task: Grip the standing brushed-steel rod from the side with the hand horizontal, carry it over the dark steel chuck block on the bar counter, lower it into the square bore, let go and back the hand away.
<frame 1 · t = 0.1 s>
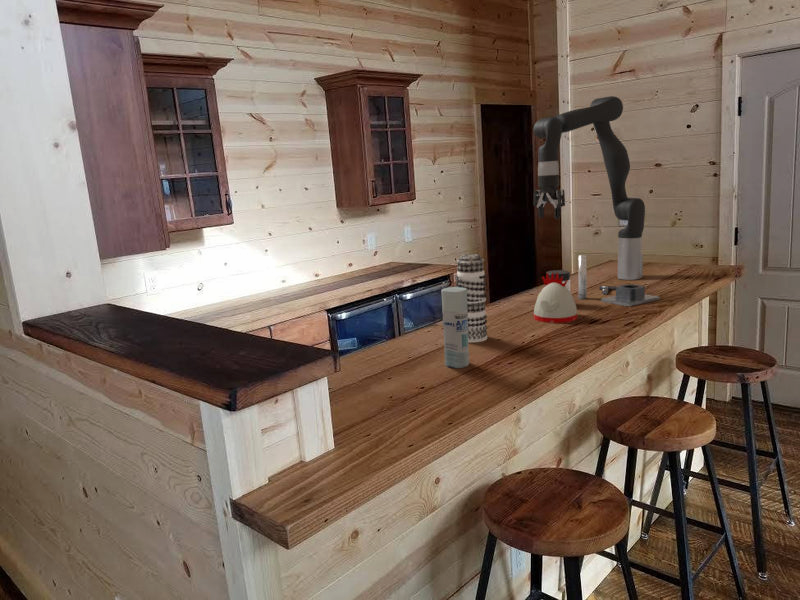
hand: (549, 218, 234), 29 cm above the worktop, tool pointing down, fingers open, 8 cm apart
steel rod: (582, 298, 230), on the worktop
decorative candle: (473, 339, 186), on the worktop
kitchen timer: (555, 318, 205), on the worktop
jar: (558, 306, 221), on the worktop
chuck block: (630, 300, 222), on the worktop
chuck key: (606, 291, 239), on the worktop
spray paint can: (457, 365, 163), on the worktop
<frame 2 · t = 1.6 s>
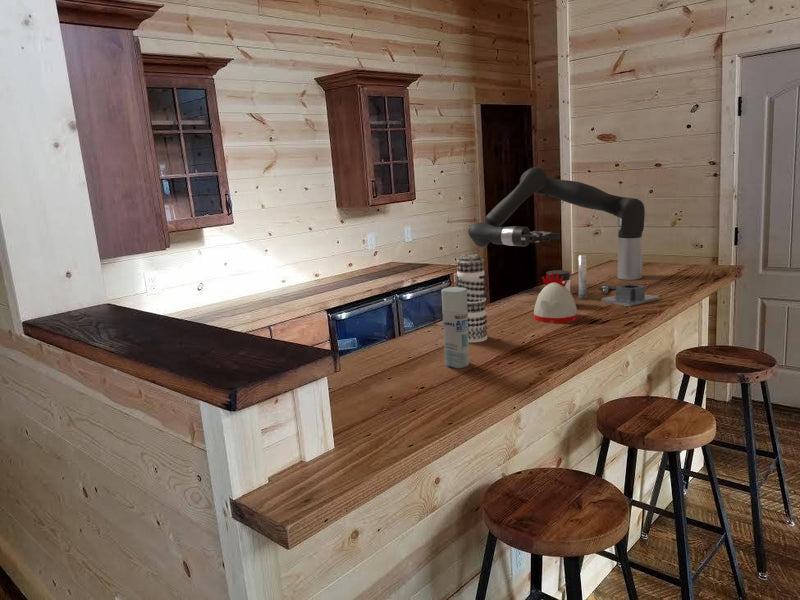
hand: (554, 237, 232), 22 cm above the worktop, tool horizontal, fingers open, 8 cm apart
nothing on the worktop moved.
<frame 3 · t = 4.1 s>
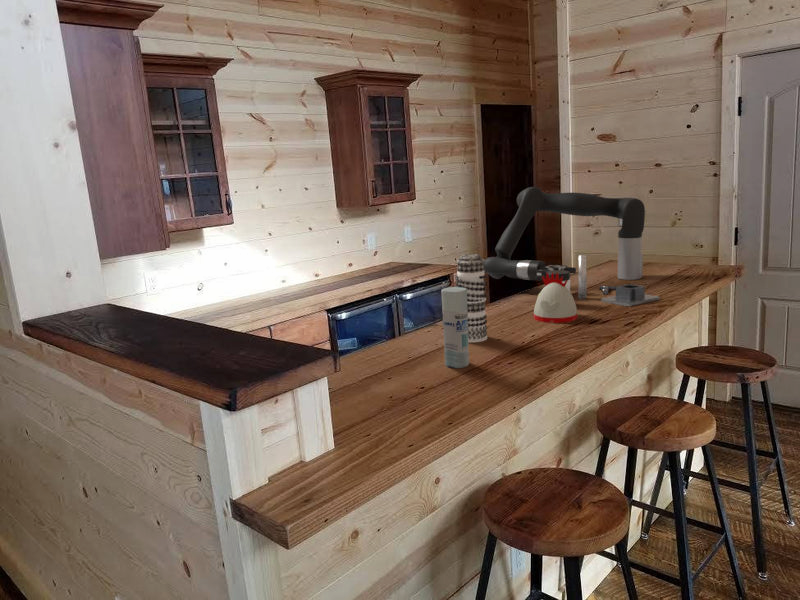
hand: (570, 272, 231), 9 cm above the worktop, tool horizontal, fingers open, 8 cm apart
nothing on the worktop moved.
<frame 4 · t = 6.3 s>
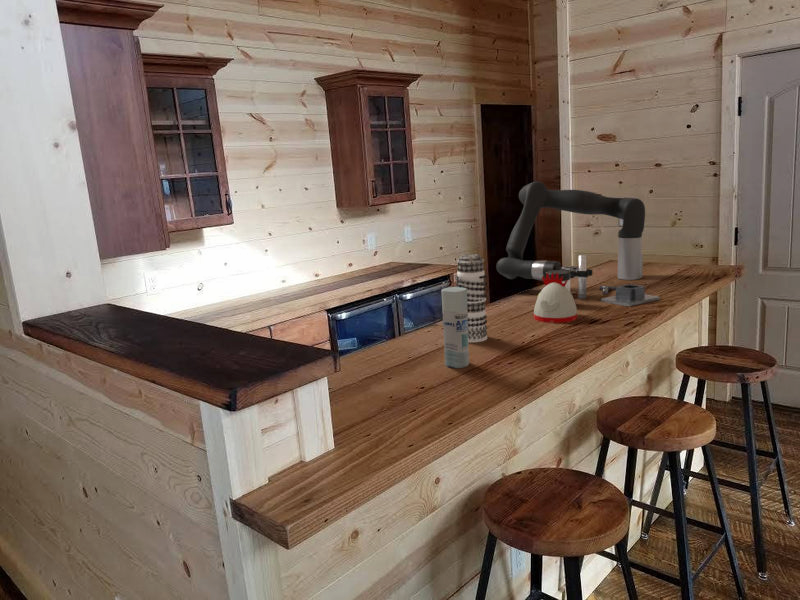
hand: (589, 273, 226), 10 cm above the worktop, tool horizontal, fingers closed on steel rod, 3 cm apart
steel rod: (582, 298, 230), on the worktop, touching gripper
everything else where it was.
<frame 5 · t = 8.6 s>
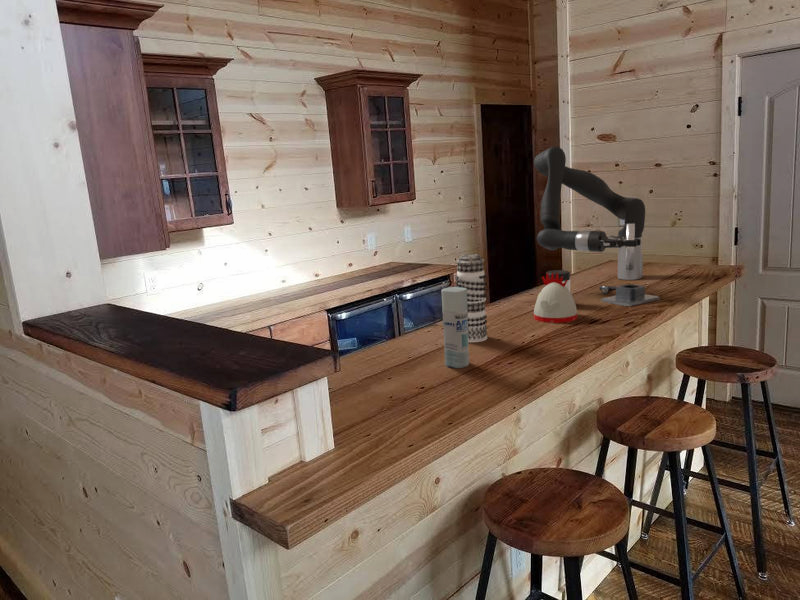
hand: (638, 242, 216), 21 cm above the worktop, tool horizontal, fingers closed on steel rod, 3 cm apart
steel rod: (629, 269, 220), point 11 cm above the worktop, touching gripper
everything else where it was.
when the fingers open (12 cm above the worktop, at t = 11.0 s): steel rod drops 1 cm, resting on chuck block.
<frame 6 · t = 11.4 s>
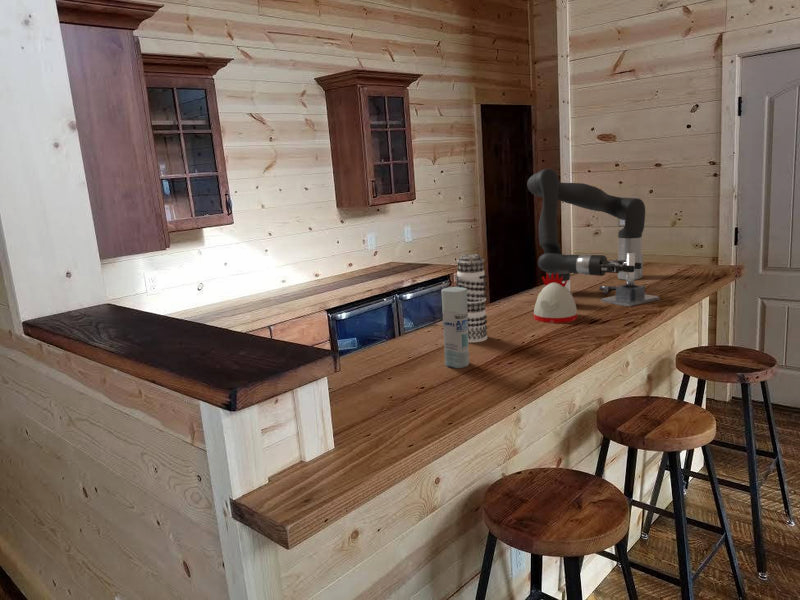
hand: (637, 267, 218), 12 cm above the worktop, tool horizontal, fingers open, 6 cm apart
steel rod: (629, 297, 222), point 1 cm above the worktop, touching chuck block
everything else where it was.
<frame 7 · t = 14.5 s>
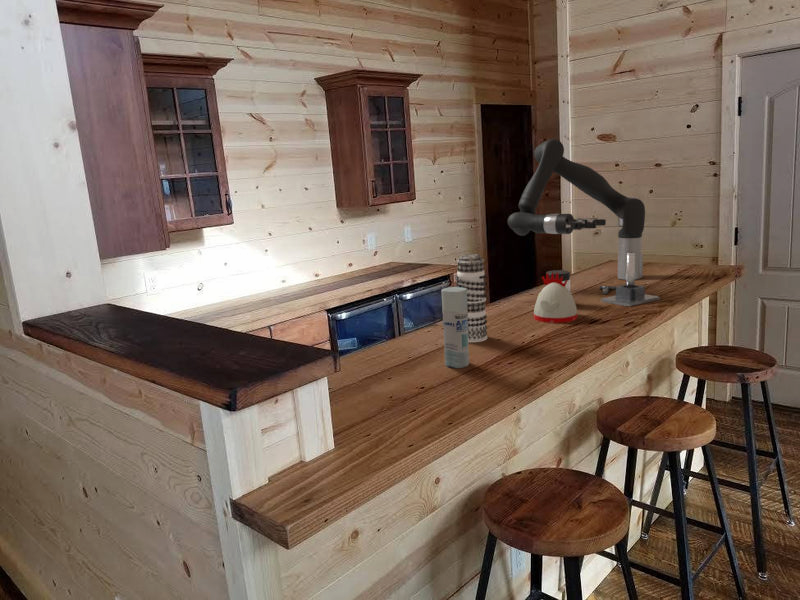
hand: (600, 223, 224), 27 cm above the worktop, tool horizontal, fingers open, 8 cm apart
nothing on the worktop moved.
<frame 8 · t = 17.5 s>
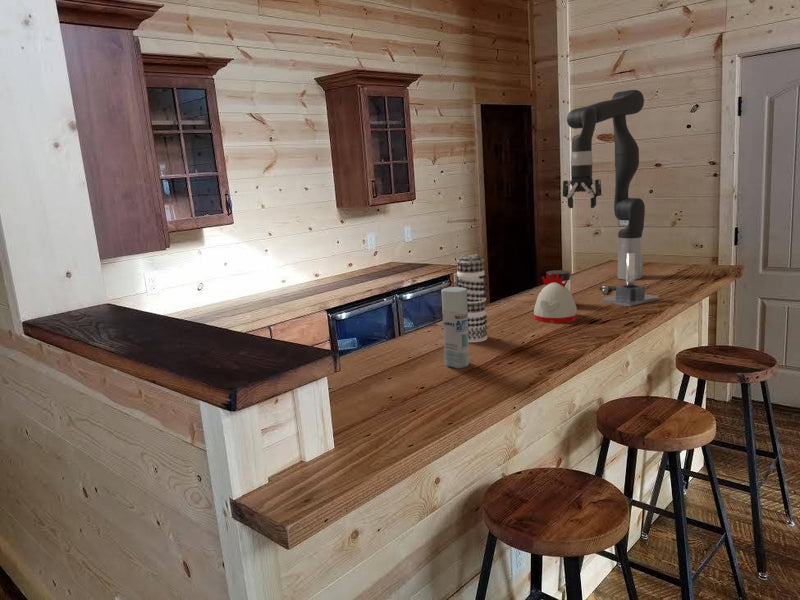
hand: (581, 208, 235), 32 cm above the worktop, tool pointing down, fingers open, 8 cm apart
nothing on the worktop moved.
at the end: steel rod 0.1 cm off-centre on the chuck block, point 1.0 cm above the chuck block's base; steel rod tilted 0°; the gripper is holding nothing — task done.
